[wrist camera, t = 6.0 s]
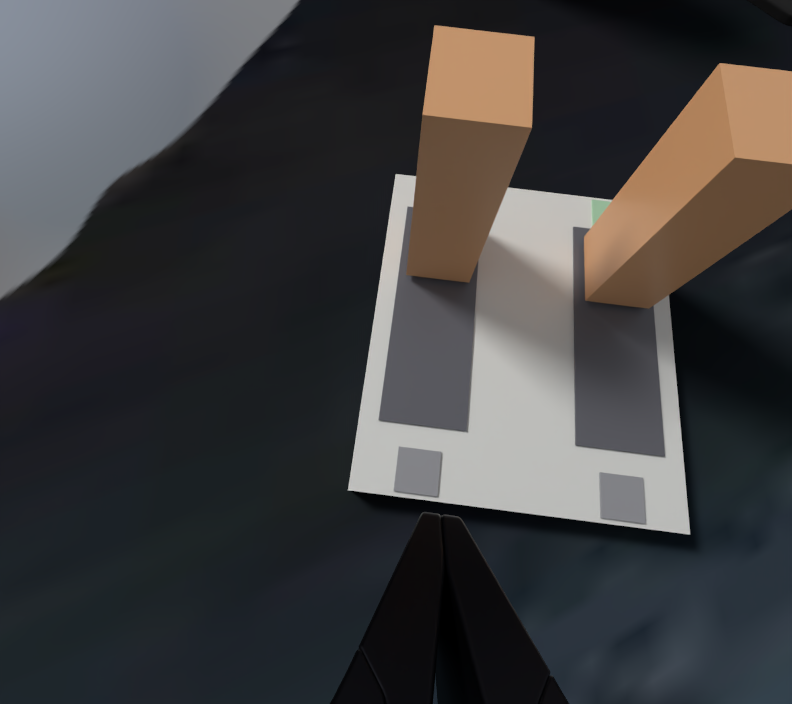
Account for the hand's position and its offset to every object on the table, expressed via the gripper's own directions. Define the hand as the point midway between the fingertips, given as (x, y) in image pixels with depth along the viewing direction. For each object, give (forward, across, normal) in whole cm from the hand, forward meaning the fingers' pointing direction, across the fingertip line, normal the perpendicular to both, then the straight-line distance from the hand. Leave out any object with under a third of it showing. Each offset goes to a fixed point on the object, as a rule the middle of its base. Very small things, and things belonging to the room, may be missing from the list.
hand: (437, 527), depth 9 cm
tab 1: (+14, 0, -3) cm, 15 cm away
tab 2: (+14, -8, -3) cm, 17 cm away
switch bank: (+13, -4, +1) cm, 14 cm away
